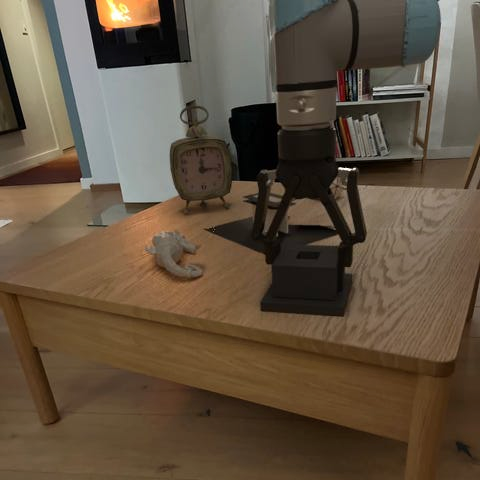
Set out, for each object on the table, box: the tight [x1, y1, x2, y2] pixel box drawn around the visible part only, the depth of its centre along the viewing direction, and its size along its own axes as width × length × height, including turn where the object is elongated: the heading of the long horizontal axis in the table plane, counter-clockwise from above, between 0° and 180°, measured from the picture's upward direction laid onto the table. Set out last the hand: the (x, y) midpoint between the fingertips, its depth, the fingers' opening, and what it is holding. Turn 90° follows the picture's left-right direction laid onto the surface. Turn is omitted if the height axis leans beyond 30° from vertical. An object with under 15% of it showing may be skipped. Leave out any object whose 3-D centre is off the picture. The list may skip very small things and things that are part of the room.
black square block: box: [270, 244, 339, 301], centre depth 71 cm, size 9×9×5 cm
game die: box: [317, 177, 347, 200], centre depth 119 cm, size 9×8×10 cm
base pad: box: [259, 273, 353, 317], centre depth 72 cm, size 12×12×6 cm
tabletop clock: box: [169, 104, 233, 216], centre depth 119 cm, size 14×9×25 cm, turn 104°
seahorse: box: [144, 228, 204, 279], centre depth 89 cm, size 5×12×20 cm
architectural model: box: [203, 188, 338, 255], centre depth 101 cm, size 20×25×10 cm
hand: (308, 285), depth 72 cm, fingers closed on black square block, 9 cm apart
